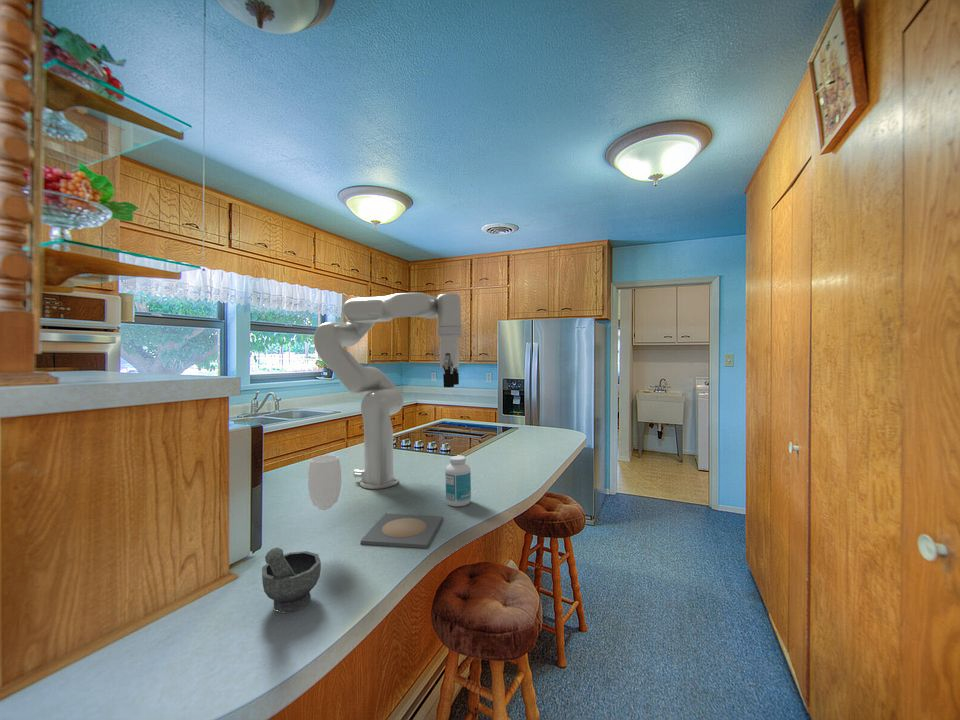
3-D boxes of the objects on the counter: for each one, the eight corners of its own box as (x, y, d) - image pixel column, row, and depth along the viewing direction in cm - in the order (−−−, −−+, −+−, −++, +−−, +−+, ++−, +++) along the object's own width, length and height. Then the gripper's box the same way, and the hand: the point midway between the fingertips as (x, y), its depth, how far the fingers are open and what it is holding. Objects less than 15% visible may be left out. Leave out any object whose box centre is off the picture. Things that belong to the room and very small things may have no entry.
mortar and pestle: (284, 584, 79) (283, 523, 78) (330, 587, 78) (329, 525, 77) (244, 623, 68) (242, 552, 67) (297, 627, 67) (296, 555, 66)
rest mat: (360, 544, 95) (360, 540, 95) (385, 516, 111) (385, 512, 111) (427, 548, 93) (427, 544, 93) (442, 519, 109) (442, 515, 109)
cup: (322, 559, 88) (320, 464, 88) (301, 551, 92) (300, 460, 91) (349, 546, 94) (348, 457, 94) (328, 538, 98) (327, 453, 98)
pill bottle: (472, 498, 124) (472, 454, 123) (469, 508, 116) (469, 461, 116) (448, 497, 125) (447, 454, 124) (443, 507, 117) (443, 460, 117)
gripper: (443, 334, 139) (445, 384, 140) (432, 331, 122) (434, 388, 122) (465, 333, 139) (466, 383, 139) (457, 330, 121) (459, 388, 122)
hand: (451, 385), depth 131 cm, fingers open, 9 cm apart
